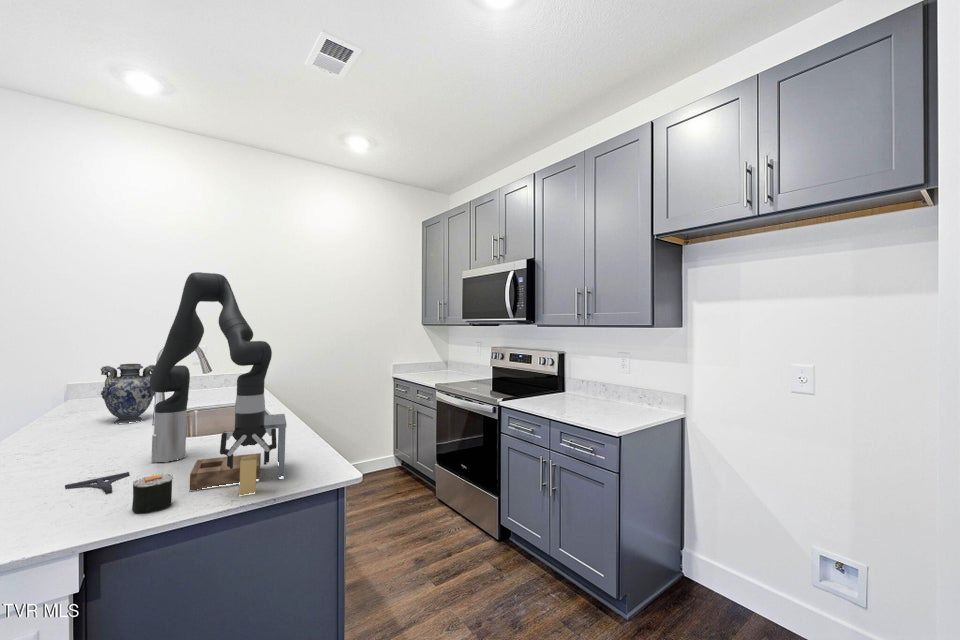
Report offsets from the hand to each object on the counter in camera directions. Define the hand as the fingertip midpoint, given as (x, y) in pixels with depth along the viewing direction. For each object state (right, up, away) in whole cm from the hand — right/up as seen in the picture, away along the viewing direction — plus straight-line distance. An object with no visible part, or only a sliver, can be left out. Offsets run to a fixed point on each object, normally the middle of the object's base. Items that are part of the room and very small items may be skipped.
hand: (248, 466), depth 119 cm
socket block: (-12, -8, +11) cm, 18 cm away
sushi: (-20, -7, -10) cm, 23 cm away
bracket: (-44, -8, +2) cm, 45 cm away
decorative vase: (-104, -7, +81) cm, 132 cm away
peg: (0, -8, 0) cm, 8 cm away
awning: (-4, -8, +15) cm, 17 cm away
